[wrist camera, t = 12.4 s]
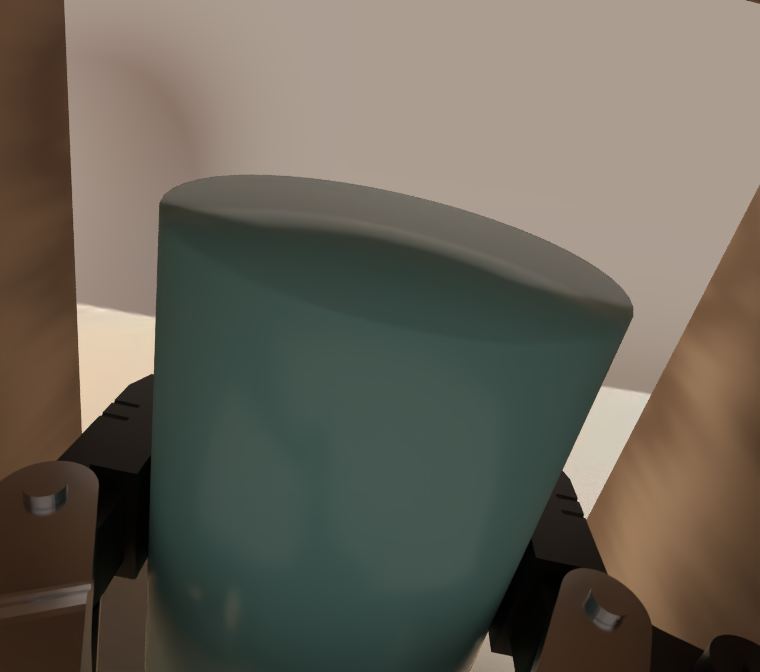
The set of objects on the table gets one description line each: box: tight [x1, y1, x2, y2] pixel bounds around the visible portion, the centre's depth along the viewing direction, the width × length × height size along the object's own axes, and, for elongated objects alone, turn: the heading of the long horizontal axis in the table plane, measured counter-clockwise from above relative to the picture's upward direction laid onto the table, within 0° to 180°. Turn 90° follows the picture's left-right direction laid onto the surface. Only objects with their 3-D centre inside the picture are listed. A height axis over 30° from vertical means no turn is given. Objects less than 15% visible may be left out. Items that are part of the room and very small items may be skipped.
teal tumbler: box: [144, 175, 633, 672], centre depth 10 cm, size 6×6×12 cm
